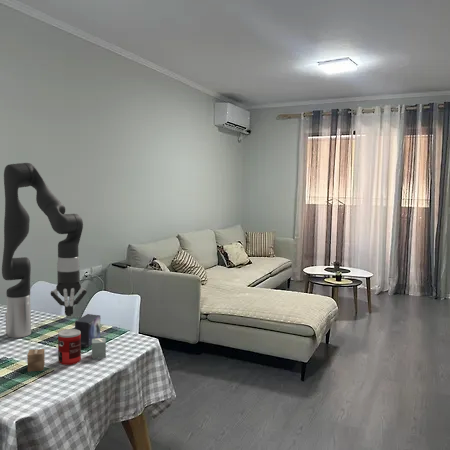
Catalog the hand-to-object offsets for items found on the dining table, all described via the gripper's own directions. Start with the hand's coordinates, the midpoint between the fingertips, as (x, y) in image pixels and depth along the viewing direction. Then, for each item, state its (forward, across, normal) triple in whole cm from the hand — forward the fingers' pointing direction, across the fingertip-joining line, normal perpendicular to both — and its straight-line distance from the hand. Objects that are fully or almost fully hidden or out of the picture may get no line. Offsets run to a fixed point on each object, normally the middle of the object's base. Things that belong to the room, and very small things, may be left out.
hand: (69, 315), depth 164 cm
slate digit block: (+17, +11, +2) cm, 20 cm away
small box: (+17, +8, +18) cm, 26 cm away
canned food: (+17, 0, 0) cm, 17 cm away
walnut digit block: (+17, -11, -3) cm, 21 cm away
